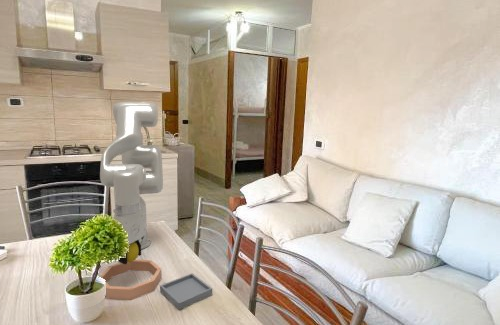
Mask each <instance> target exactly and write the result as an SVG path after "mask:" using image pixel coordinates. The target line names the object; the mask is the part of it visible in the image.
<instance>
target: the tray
mask: <svg viewBox="0 0 500 325" xmlns="http://www.w3.org/2000/svg"><path fill="white" fill-rule="evenodd" d="M159 292H160V294H162V296H164V297H165V299H167V300H168V301H169V302H170V303H171V304H172V305H173V306H174V307H176V308H177V310H179V311H180V310H182V309H185V308H186V307H188V306H191V305H193V304H196V303H198V302H199V301H201V300H203V299H206V298H208V297H210V296H212V295H213V288H212V287H211V286H210V285H208V284H207V283H206V282H204V281H203V280H202V279H200V278H199V277H198V276H197V275H195V273H192V272H191V273H189V274H187V275H183V276H181V277H178V278H176V279H174V280H171V281H168V282H166V283H163V284H161V285H159Z"/></svg>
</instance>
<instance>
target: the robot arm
mask: <svg viewBox="0 0 500 325" xmlns="http://www.w3.org/2000/svg"><path fill="white" fill-rule="evenodd" d="M112 113H113V114H112V115H113V118H114V122H115V124H116V129H115V131H116V134H115V139H114V140H113V141H112V142H110V143H109V144H108V145H107V147H106V148H105V149H104V151H103V153H102V155H101V159H100V169H99V170H100V171H99V179H100V183H101V185H102V186H104V187H107V188H113V196H114V209H113V210H112V212H113V220H114V219H115V220H118V221H119V222H120V223H121V224H122V225H123V228H124V229H125V231H126V232H128V241H129V244H131V243H133V242H135V243H136V244H137V246H138V249H139V253H138V257H140V256H142V250H144V249H145V248H148V247H149V246H150V245H151V244H152V239H151V238H150V237H148V228H147V203H146V201H145V199H143V197H142V196H141V195H149V194H150V195H151V194H159V193H161V192H162V190H163V188H164V179H163V178H164V177H163V176H164V175H163V157H162V151H161V149H160V147H159V146H157V145H151V144H149V145H146V144H145V145H144V138H143V136H144V135H143V133H142V130H141V129H142V128H144V127H145V128H154V127H156V126H157V124H158V121H159V120H158V119H159V110H158V106H157V104H156V103H155V102H146V101H145V102H143V101H121V102H116V103H114V105H113V107H112ZM119 155H121V162H122V163H120V164H119V163H117V164H116V163H114V164H111V162H112V161H113V160H114V159H115V158H116V157H118V156H119ZM146 169H150V170H146ZM118 263H123V264H127V253H126V258H120V260H119V259H118Z"/></svg>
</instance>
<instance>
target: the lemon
mask: <svg viewBox="0 0 500 325" xmlns="http://www.w3.org/2000/svg"><path fill="white" fill-rule="evenodd" d="M129 245H130V246H129V252H127V262H130V263H131V262H132V261H134V260H137V258H138V257H139V255H138V253H139V249H138V246H137V244H136V243H135V242H133V243H131V244H129Z"/></svg>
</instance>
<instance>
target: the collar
mask: <svg viewBox="0 0 500 325" xmlns="http://www.w3.org/2000/svg"><path fill="white" fill-rule="evenodd" d="M129 271H144V272H145V271H146V272H148V271H149V272H150V273H151V274H152V277H151V279H149V280H147V281H144V282H142V283H138V284H136V285H133V286H131V287H130V286H129V287H128V286H114V285H110V284H108V282H109V281H110V280H111V279H112V277H114V276H117V275H120V274H123V273H126V272H129ZM99 276H100V277H101V278H103V279H105V280H106V281H105V282H106V296H105V298H106V299H109V300H112V299H113V300H127V301H128V300H130V301H132V300H134V299H136V298H140V297H141V296H144V295H148V294H149V293H153V292H154V291H156V288H157V286H158V285H159V283H160V282H161V280H162V268H161V267H160V266H159V265H158V264H156V263H155V261H153V260H151V259H150V260H149V259H135V260H134V261H132V262H131V263H130V262H127V264H123V263H120V262H118V263H115V264H111V265H108V267H107V268H105V269H104V271H103V272H102V273H101V274H100V275H99Z"/></svg>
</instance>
